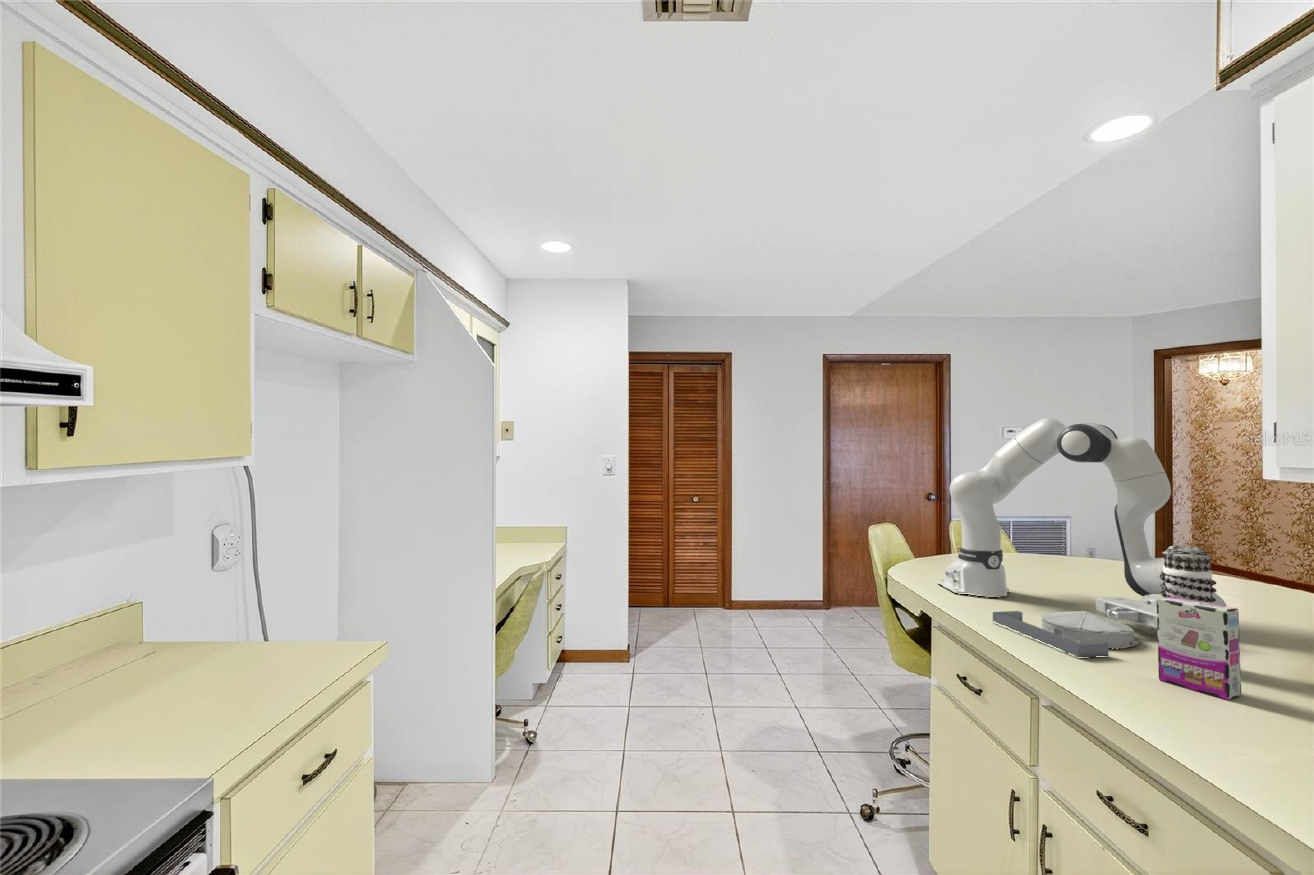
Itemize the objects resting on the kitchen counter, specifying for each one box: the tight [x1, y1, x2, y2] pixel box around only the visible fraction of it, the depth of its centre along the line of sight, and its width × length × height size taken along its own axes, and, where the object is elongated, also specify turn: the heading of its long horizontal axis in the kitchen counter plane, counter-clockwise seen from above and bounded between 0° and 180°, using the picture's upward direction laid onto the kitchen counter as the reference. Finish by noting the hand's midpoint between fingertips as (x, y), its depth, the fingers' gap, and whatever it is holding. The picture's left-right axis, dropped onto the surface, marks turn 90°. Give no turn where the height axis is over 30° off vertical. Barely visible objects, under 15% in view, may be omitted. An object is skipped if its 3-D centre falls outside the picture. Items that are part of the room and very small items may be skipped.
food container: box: [1040, 610, 1139, 649], centre depth 146 cm, size 20×20×7 cm
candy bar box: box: [1156, 597, 1242, 701], centre depth 115 cm, size 11×5×16 cm, turn 25°
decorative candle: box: [1159, 545, 1217, 604], centre depth 127 cm, size 9×9×25 cm
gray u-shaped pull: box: [992, 610, 1110, 657], centre depth 145 cm, size 27×8×3 cm, turn 8°
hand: (1112, 614), depth 147 cm, fingers closed
